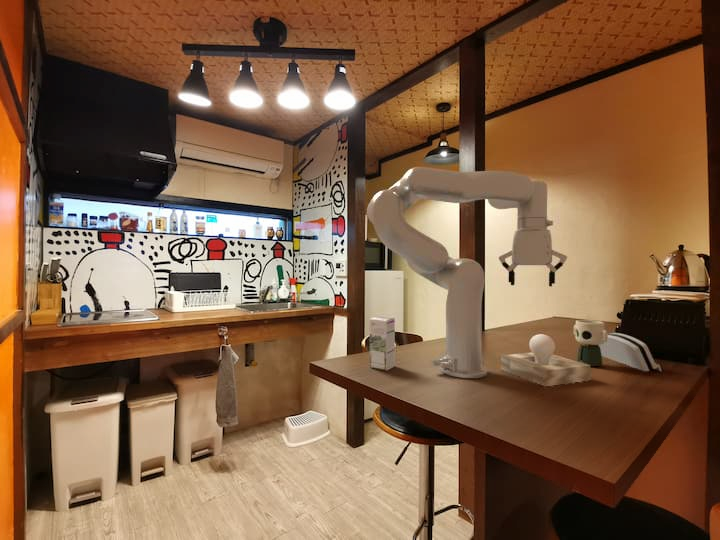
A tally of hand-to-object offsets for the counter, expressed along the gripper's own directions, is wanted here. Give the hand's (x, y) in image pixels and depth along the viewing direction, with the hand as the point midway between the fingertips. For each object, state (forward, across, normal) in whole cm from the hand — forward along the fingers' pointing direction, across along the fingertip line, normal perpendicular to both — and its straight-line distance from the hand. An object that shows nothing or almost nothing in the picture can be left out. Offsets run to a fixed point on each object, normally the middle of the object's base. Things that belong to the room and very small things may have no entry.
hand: (531, 285), depth 94 cm
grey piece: (+24, -24, -22) cm, 41 cm away
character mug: (+24, -15, -14) cm, 32 cm away
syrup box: (+25, +37, +20) cm, 49 cm away
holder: (+24, -3, +4) cm, 24 cm away
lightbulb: (+24, -3, +4) cm, 25 cm away
